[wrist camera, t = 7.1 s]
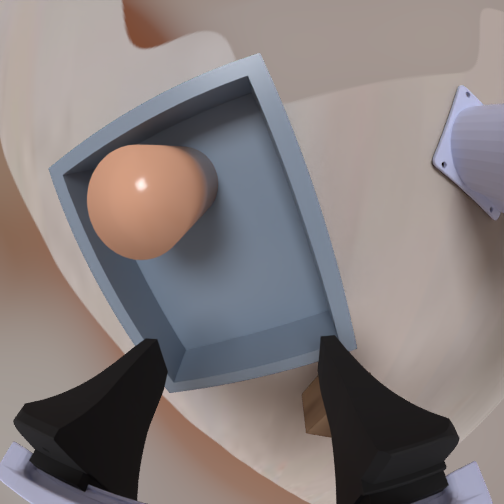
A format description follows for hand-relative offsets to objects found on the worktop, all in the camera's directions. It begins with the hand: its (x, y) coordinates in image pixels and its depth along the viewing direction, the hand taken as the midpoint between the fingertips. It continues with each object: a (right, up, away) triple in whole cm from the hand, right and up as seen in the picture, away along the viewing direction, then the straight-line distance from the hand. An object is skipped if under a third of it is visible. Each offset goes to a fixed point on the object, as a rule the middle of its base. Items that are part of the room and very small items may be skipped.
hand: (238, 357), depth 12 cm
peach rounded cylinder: (-4, +9, +6) cm, 12 cm away
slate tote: (-2, +6, +8) cm, 10 cm away
